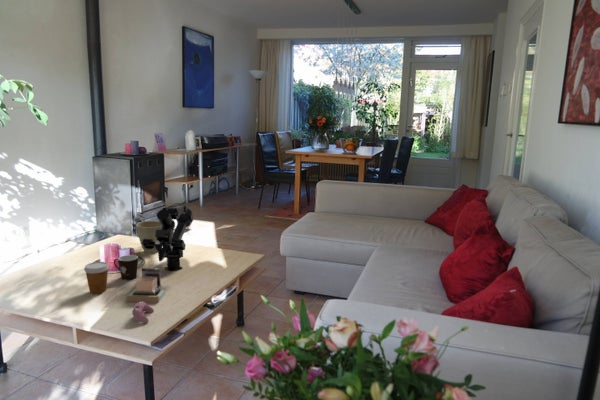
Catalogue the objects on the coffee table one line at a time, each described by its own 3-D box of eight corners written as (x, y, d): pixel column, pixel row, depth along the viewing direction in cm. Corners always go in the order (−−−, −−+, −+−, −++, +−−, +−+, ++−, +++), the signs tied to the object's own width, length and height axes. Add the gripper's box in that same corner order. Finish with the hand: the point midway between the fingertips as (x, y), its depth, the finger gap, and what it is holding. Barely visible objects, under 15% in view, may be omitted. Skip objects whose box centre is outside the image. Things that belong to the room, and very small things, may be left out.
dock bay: (135, 294, 185) (134, 287, 185) (165, 295, 185) (164, 288, 185) (126, 303, 177) (126, 296, 176) (158, 304, 176) (158, 297, 176)
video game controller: (144, 316, 169) (135, 301, 168) (155, 311, 169) (146, 295, 168) (137, 328, 159) (128, 312, 158) (149, 322, 159) (139, 306, 158)
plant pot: (132, 254, 237) (130, 226, 235) (145, 247, 252) (144, 220, 249) (157, 256, 235) (156, 228, 232) (170, 249, 250) (169, 221, 247)
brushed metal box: (142, 291, 188) (142, 267, 186) (161, 291, 188) (160, 268, 186) (134, 299, 179) (133, 275, 177) (154, 300, 179) (153, 275, 177)
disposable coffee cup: (98, 297, 181) (96, 270, 179) (80, 294, 184) (78, 266, 182) (115, 289, 190) (113, 263, 187) (98, 286, 193) (96, 260, 191)
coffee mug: (142, 278, 203) (141, 258, 201) (124, 283, 197) (123, 262, 195) (130, 272, 211) (129, 252, 209) (112, 276, 205) (111, 256, 203)
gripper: (142, 221, 199) (134, 252, 190) (183, 222, 199) (176, 253, 190) (149, 233, 208) (141, 263, 200) (188, 234, 208) (182, 264, 199)
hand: (160, 260), depth 197 cm, fingers closed
